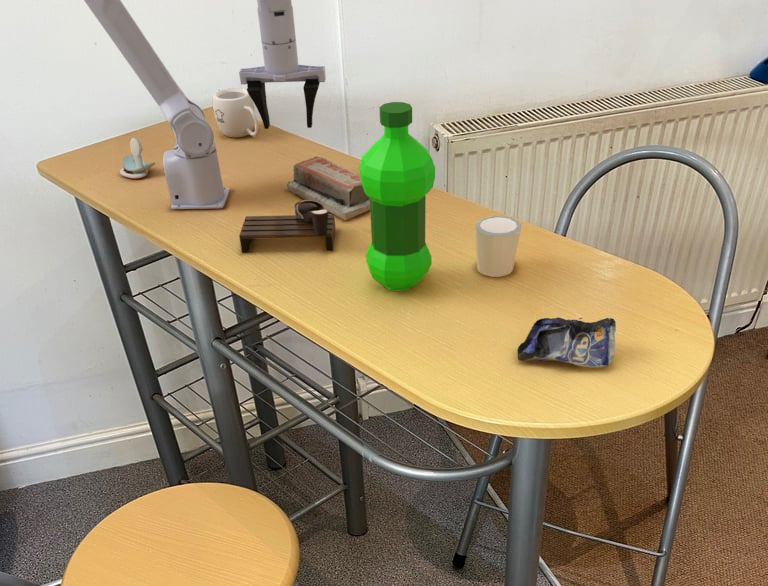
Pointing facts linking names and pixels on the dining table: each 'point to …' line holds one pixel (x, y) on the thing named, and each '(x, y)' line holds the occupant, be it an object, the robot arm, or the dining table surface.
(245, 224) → the slatted bench
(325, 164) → the packaged product
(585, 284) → the dining table surface
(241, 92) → the mug
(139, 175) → the pacifier
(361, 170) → the plastic bottle
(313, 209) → the heeled mule
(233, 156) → the dining table surface
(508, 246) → the shot glass
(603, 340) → the snack package
